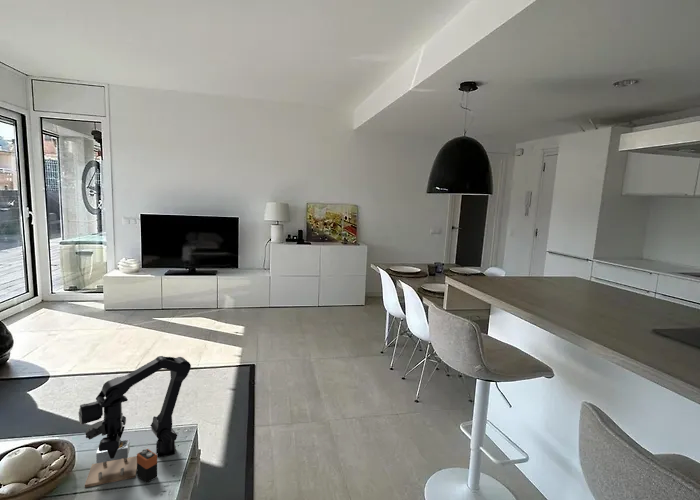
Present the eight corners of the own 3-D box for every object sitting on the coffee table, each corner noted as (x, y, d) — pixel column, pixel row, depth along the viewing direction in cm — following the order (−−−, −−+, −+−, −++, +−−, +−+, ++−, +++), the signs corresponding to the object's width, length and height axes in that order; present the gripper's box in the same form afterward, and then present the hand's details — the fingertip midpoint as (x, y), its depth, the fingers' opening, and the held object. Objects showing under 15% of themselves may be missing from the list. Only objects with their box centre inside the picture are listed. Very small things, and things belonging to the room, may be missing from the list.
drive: (96, 463, 141) (96, 453, 141) (99, 454, 146) (99, 444, 146) (127, 457, 145) (127, 447, 144) (129, 449, 150) (129, 439, 150)
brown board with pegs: (139, 457, 155) (138, 450, 154) (135, 477, 144) (135, 469, 143) (92, 466, 148) (92, 458, 148) (84, 487, 137) (84, 479, 137)
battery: (146, 483, 141) (146, 458, 140) (136, 476, 144) (136, 451, 143) (157, 477, 144) (157, 452, 143) (147, 470, 148) (147, 445, 147)
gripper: (93, 405, 149) (94, 443, 151) (80, 432, 132) (82, 474, 134) (125, 401, 153) (126, 438, 155) (118, 426, 136) (118, 467, 138)
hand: (113, 453), depth 145 cm, fingers closed on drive, 5 cm apart
